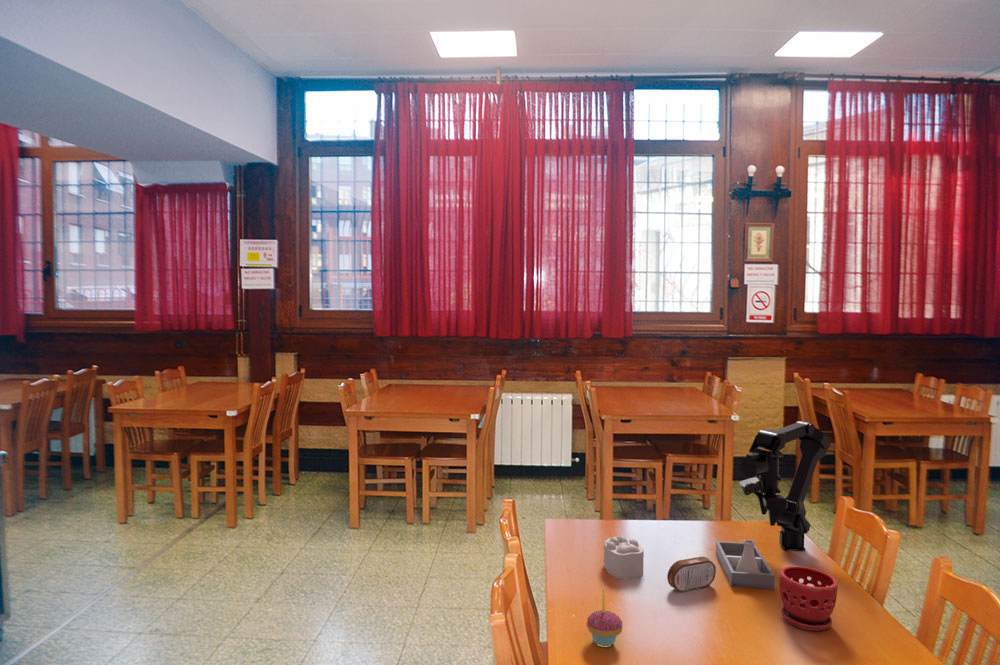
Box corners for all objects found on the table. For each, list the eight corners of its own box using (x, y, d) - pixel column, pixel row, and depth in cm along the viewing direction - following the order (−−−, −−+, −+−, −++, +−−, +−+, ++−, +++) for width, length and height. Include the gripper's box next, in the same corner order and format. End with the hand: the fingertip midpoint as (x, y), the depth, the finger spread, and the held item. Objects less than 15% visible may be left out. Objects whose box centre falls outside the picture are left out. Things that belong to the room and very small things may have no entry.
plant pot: (834, 641, 150) (835, 592, 149) (774, 625, 157) (776, 579, 156) (838, 617, 161) (839, 571, 160) (782, 603, 168) (783, 560, 167)
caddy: (753, 555, 198) (754, 543, 197) (774, 589, 176) (774, 575, 175) (715, 553, 199) (715, 541, 199) (731, 586, 177) (731, 572, 177)
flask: (756, 569, 185) (757, 536, 185) (765, 581, 178) (766, 547, 178) (731, 568, 186) (732, 536, 185) (739, 580, 179) (740, 546, 178)
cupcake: (583, 633, 153) (583, 585, 152) (617, 631, 154) (617, 584, 153) (591, 653, 144) (591, 603, 144) (627, 651, 145) (627, 601, 144)
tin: (710, 581, 180) (710, 553, 180) (717, 586, 177) (718, 557, 177) (666, 590, 175) (666, 561, 174) (673, 595, 172) (673, 565, 171)
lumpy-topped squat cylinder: (615, 580, 181) (615, 551, 180) (597, 561, 194) (597, 534, 193) (647, 576, 184) (648, 547, 183) (627, 557, 196) (628, 530, 196)
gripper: (734, 462, 205) (734, 508, 207) (749, 480, 187) (748, 530, 188) (770, 462, 204) (769, 509, 205) (788, 481, 186) (787, 532, 187)
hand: (767, 519), depth 196 cm, fingers open, 9 cm apart
